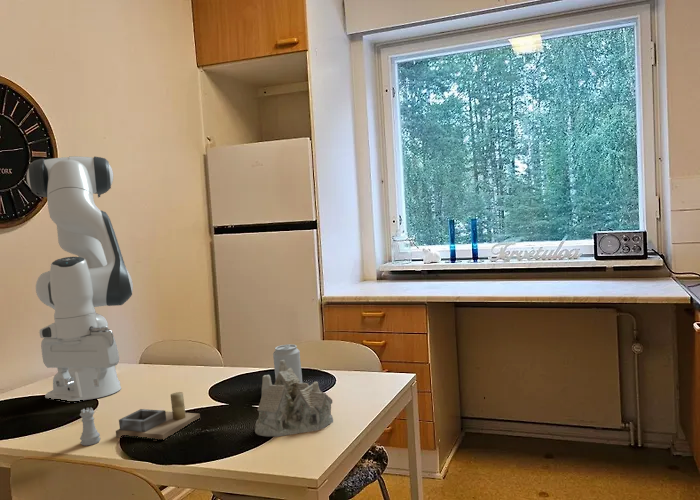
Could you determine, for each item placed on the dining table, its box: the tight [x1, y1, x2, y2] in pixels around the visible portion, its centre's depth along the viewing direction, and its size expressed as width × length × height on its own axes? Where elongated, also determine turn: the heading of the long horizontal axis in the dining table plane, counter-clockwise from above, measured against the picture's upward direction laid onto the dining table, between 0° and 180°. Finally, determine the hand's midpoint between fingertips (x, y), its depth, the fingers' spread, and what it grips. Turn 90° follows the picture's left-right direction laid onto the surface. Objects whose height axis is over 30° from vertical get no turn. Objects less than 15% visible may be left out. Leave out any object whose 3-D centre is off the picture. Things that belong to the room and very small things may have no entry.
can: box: [272, 343, 303, 383], centre depth 176 cm, size 8×8×12 cm
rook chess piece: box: [79, 407, 102, 447], centre depth 146 cm, size 4×4×8 cm
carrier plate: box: [115, 391, 201, 440], centre depth 151 cm, size 14×14×8 cm
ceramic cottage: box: [254, 360, 334, 438], centre depth 145 cm, size 16×16×15 cm
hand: (84, 385), depth 144 cm, fingers open, 8 cm apart
